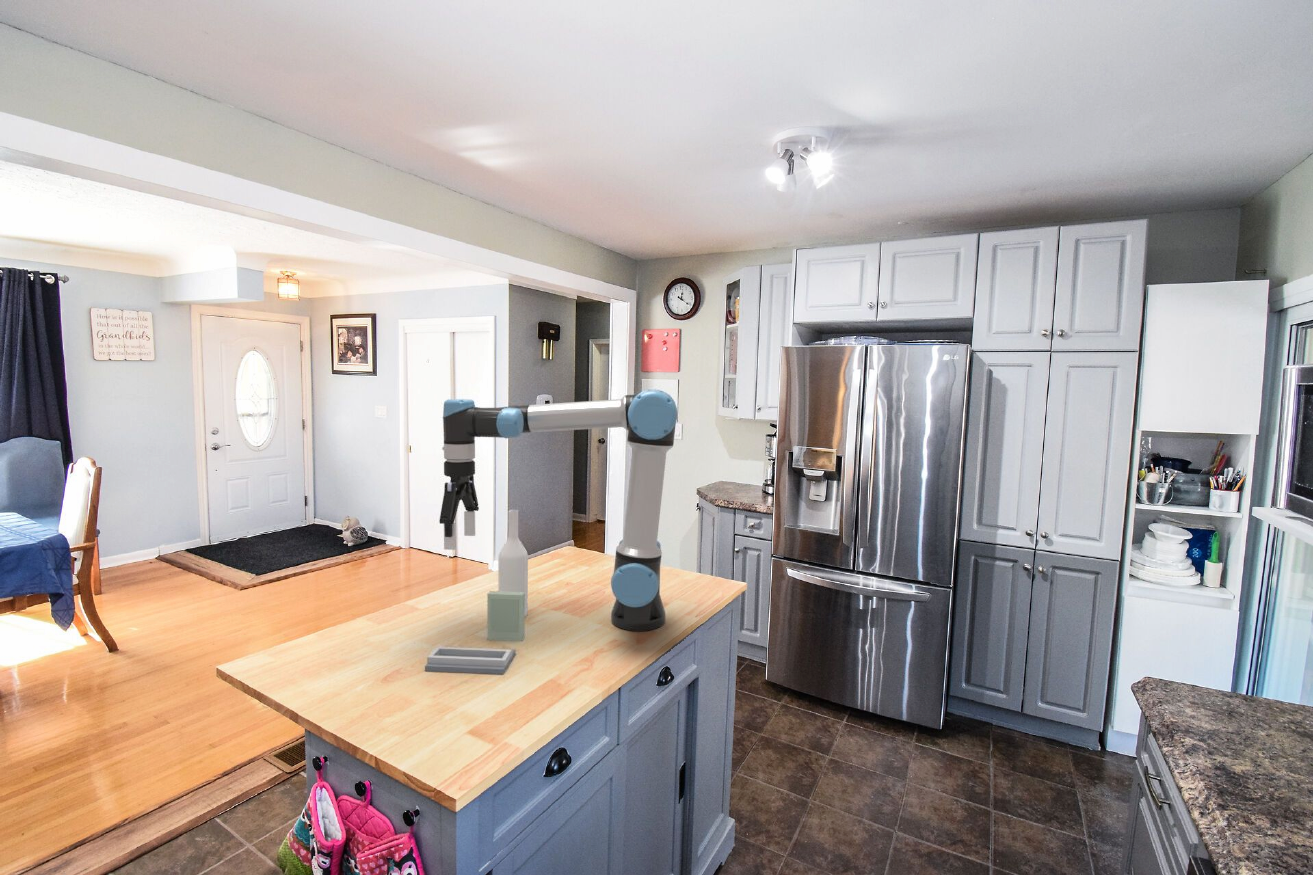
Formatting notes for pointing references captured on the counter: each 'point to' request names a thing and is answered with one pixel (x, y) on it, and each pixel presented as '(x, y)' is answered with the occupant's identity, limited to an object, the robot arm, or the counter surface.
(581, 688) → the counter surface
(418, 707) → the counter surface
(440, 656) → the base
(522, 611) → the door panel
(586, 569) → the counter surface
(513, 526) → the bottle
